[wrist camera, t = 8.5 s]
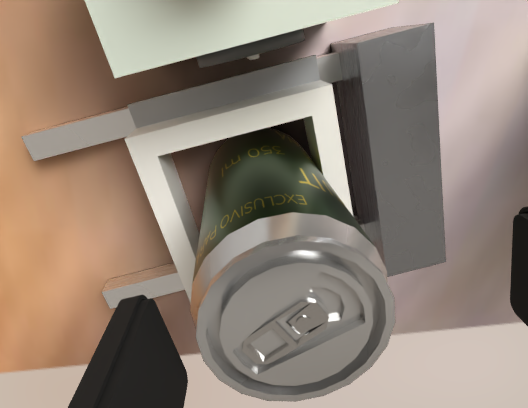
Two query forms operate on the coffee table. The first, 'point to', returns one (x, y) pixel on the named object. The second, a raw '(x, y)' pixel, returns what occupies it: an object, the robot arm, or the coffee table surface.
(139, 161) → the frame
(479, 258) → the coffee table surface
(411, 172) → the rail track
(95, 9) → the pale green hollow cube
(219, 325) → the beer can
